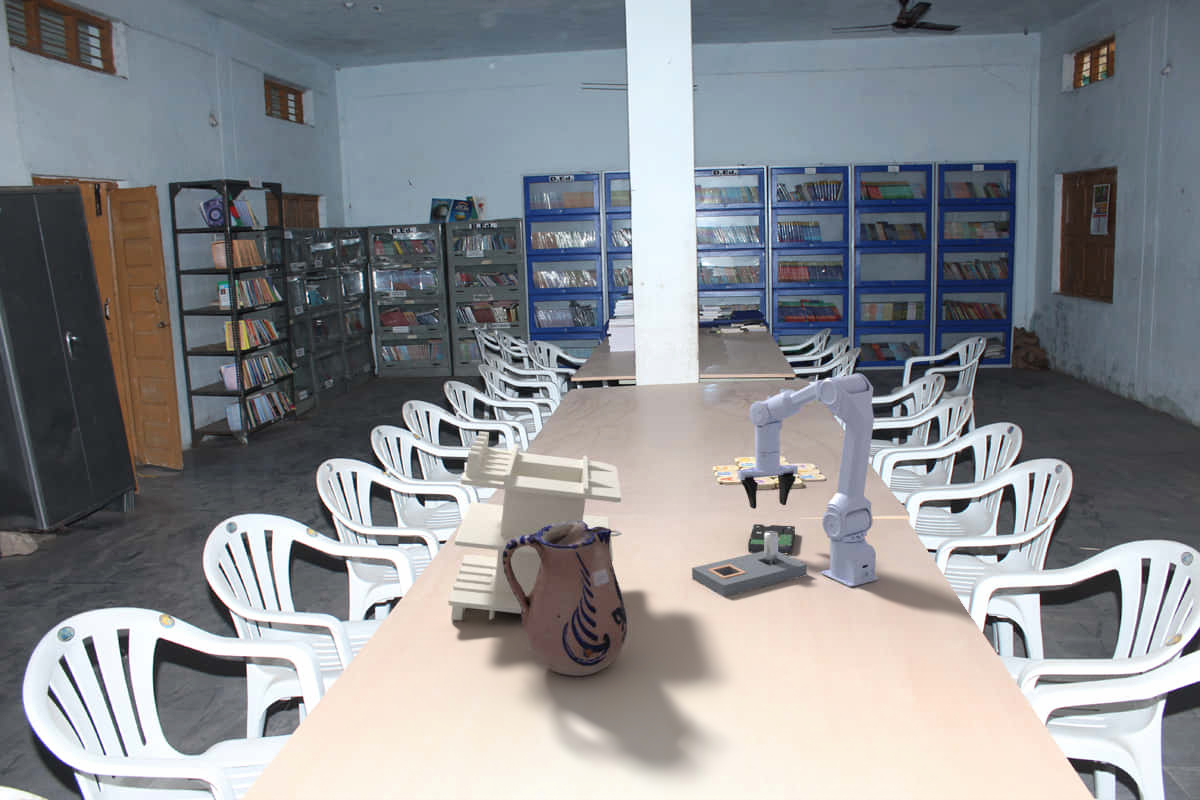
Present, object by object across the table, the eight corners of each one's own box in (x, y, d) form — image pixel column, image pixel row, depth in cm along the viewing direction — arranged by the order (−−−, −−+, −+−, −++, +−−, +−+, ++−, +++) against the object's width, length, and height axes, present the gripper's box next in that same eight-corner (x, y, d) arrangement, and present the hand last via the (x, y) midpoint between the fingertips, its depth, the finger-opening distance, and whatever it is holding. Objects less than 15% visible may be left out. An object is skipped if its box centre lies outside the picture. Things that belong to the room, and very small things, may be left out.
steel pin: (780, 572, 202) (780, 533, 200) (770, 575, 200) (769, 536, 199) (772, 568, 204) (772, 530, 203) (761, 570, 203) (761, 532, 201)
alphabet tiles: (832, 489, 266) (832, 480, 265) (720, 492, 266) (720, 484, 266) (808, 460, 298) (808, 453, 298) (709, 464, 299) (709, 457, 299)
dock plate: (806, 575, 199) (806, 563, 199) (723, 596, 189) (723, 584, 189) (772, 559, 210) (772, 548, 209) (692, 578, 200) (692, 567, 199)
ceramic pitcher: (641, 678, 156) (637, 539, 151) (521, 700, 150) (512, 556, 146) (611, 637, 172) (606, 510, 168) (501, 655, 167) (493, 524, 162)
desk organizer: (462, 577, 205) (478, 427, 199) (599, 592, 206) (618, 443, 200) (445, 627, 179) (462, 456, 173) (601, 644, 180) (624, 474, 174)
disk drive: (753, 534, 229) (748, 554, 215) (753, 523, 229) (747, 542, 214) (795, 536, 227) (792, 556, 212) (795, 525, 226) (792, 544, 212)
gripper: (788, 444, 220) (788, 498, 222) (732, 449, 217) (733, 504, 219) (801, 450, 213) (801, 506, 216) (743, 456, 210) (744, 512, 212)
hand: (768, 505), depth 217 cm, fingers open, 7 cm apart
